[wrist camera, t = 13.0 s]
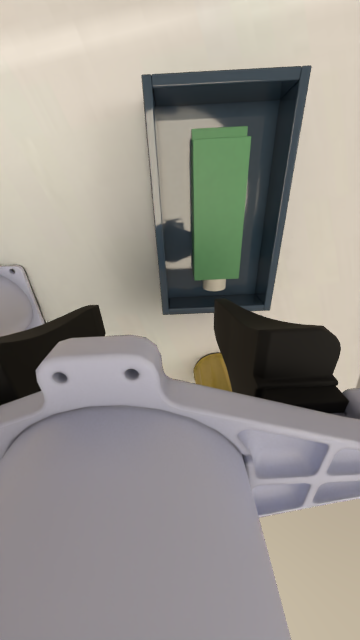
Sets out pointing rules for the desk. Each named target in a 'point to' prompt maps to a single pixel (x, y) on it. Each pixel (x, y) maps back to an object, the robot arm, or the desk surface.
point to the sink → (262, 184)
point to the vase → (212, 372)
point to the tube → (218, 202)
